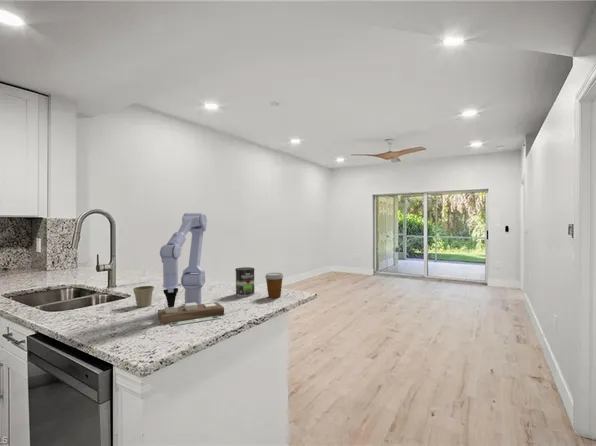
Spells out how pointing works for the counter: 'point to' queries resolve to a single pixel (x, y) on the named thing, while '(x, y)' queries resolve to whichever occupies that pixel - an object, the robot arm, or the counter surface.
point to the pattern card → (194, 320)
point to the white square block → (210, 305)
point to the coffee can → (245, 281)
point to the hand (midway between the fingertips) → (171, 306)
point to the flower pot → (143, 295)
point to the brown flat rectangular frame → (190, 313)
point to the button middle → (191, 306)
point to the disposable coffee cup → (274, 284)
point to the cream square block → (171, 309)
